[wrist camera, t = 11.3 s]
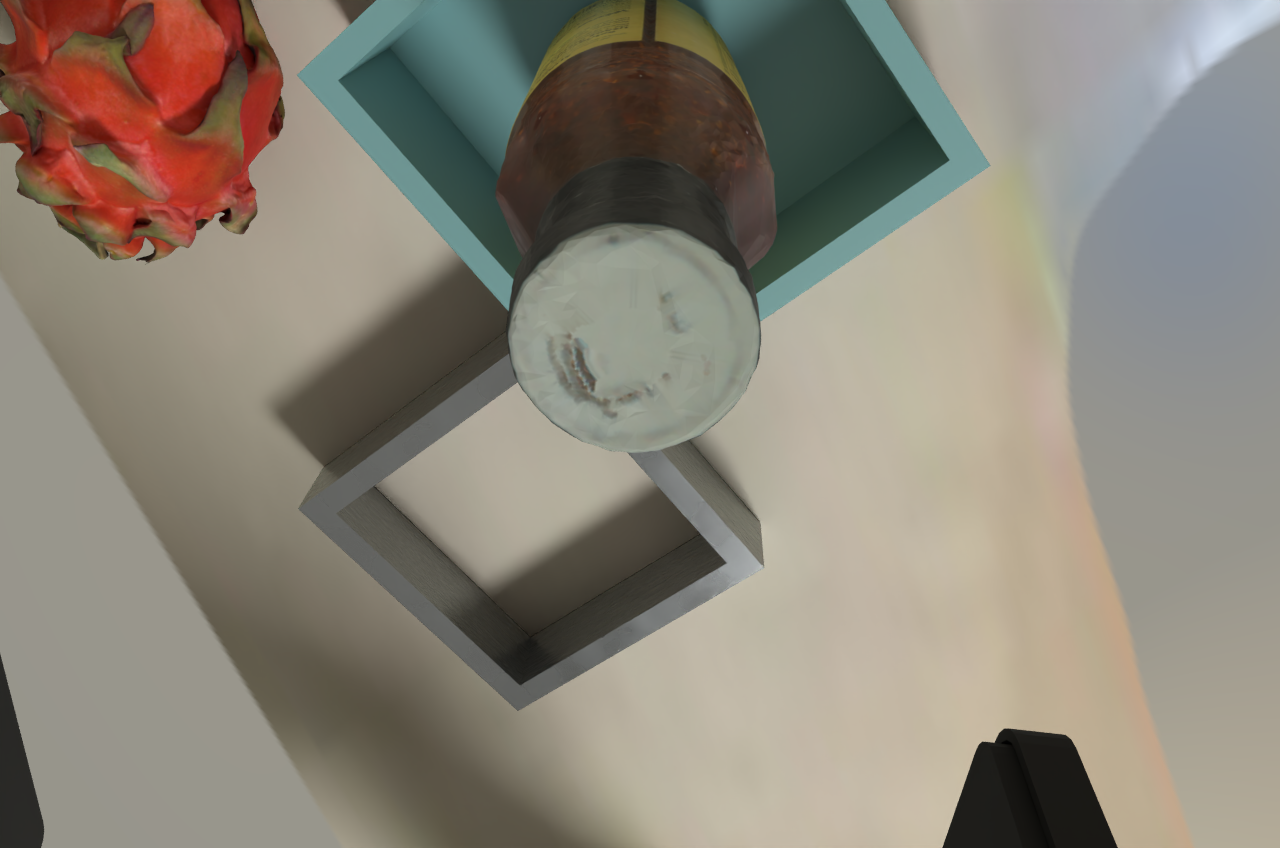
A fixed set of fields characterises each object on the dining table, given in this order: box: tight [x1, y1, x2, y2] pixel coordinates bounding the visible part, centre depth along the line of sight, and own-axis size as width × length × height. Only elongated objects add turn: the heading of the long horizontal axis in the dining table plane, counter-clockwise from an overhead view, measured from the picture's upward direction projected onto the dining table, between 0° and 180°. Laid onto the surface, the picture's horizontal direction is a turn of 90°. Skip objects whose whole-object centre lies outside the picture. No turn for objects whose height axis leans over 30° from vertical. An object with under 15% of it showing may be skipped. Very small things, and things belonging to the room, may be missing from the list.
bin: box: [297, 0, 990, 321], centre depth 31 cm, size 14×14×6 cm
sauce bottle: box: [495, 0, 777, 453], centre depth 25 cm, size 6×6×20 cm
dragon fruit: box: [0, 0, 285, 265], centre depth 31 cm, size 8×8×12 cm
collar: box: [298, 331, 764, 711], centre depth 41 cm, size 12×12×3 cm
